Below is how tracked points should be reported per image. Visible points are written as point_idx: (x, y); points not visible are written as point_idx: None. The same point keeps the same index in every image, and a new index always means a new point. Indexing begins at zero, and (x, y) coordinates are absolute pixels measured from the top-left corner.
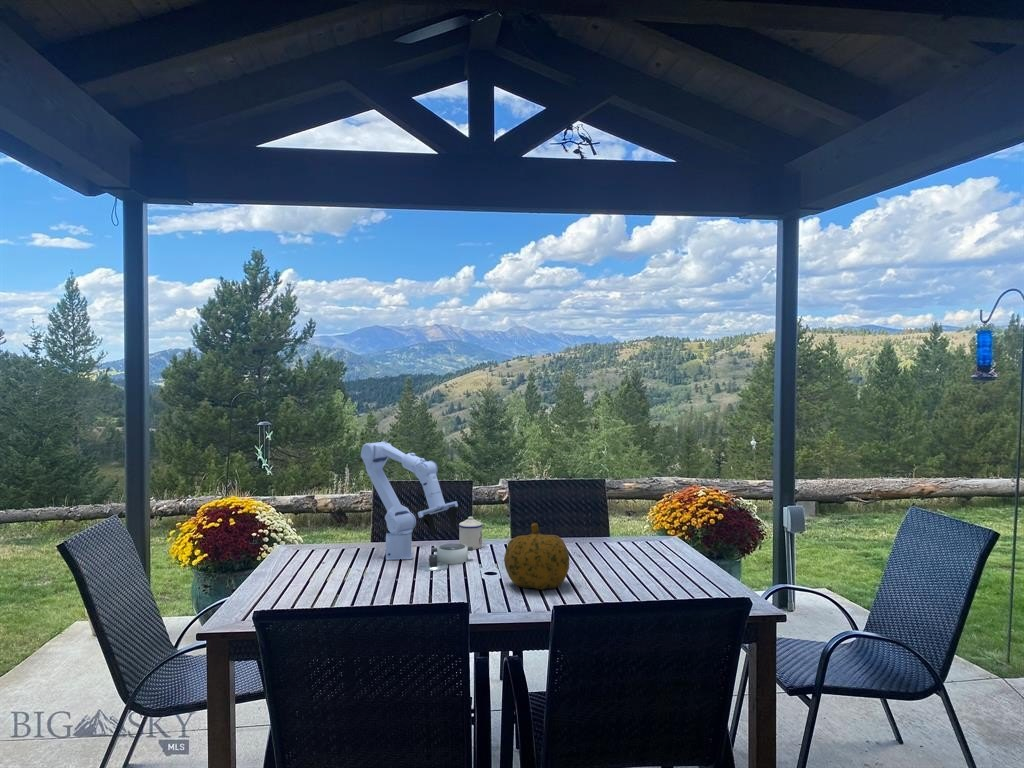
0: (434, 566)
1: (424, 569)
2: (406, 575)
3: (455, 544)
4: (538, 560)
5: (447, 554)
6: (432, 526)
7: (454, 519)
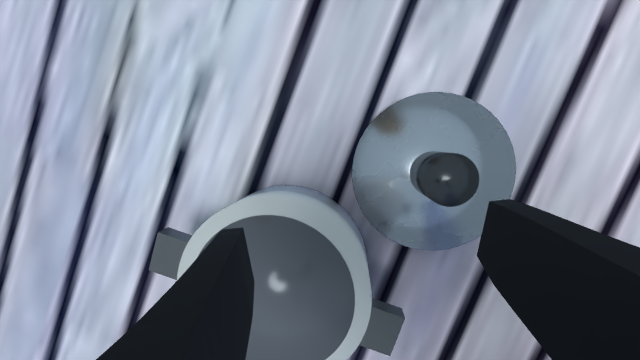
0: (434, 151)
1: (503, 128)
2: (627, 83)
3: None
4: None
5: (335, 215)
6: (635, 251)
7: (178, 311)
